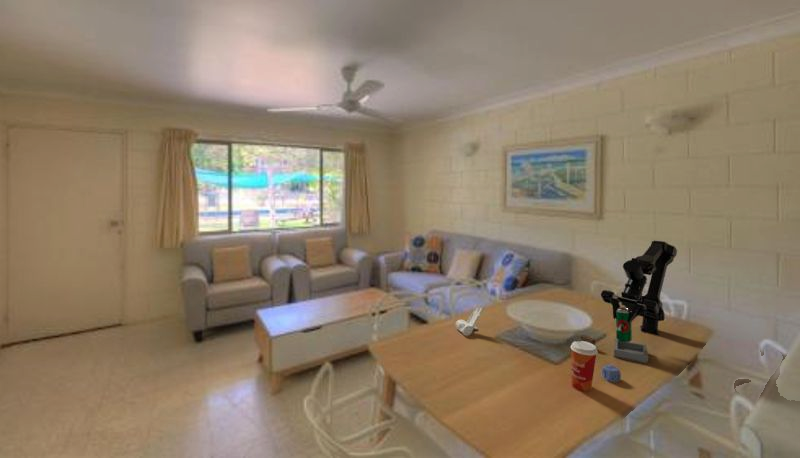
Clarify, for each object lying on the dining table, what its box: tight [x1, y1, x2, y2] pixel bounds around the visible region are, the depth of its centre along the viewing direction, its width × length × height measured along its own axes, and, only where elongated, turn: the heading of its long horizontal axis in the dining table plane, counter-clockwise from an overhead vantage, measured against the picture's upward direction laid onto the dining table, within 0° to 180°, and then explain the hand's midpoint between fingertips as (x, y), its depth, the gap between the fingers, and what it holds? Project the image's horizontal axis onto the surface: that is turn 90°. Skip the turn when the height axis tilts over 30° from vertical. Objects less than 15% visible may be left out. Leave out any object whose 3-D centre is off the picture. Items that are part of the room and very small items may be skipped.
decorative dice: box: [601, 364, 622, 383], centre depth 119 cm, size 4×4×4 cm
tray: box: [613, 338, 649, 365], centre depth 135 cm, size 10×10×3 cm
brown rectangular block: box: [579, 334, 596, 346], centre depth 141 cm, size 2×5×4 cm, turn 23°
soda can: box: [615, 306, 633, 342], centre depth 135 cm, size 5×5×12 cm
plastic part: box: [455, 303, 484, 337], centre depth 156 cm, size 8×10×12 cm
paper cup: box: [570, 340, 599, 393], centre depth 114 cm, size 8×8×14 cm
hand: (621, 320), depth 135 cm, fingers closed on soda can, 5 cm apart
